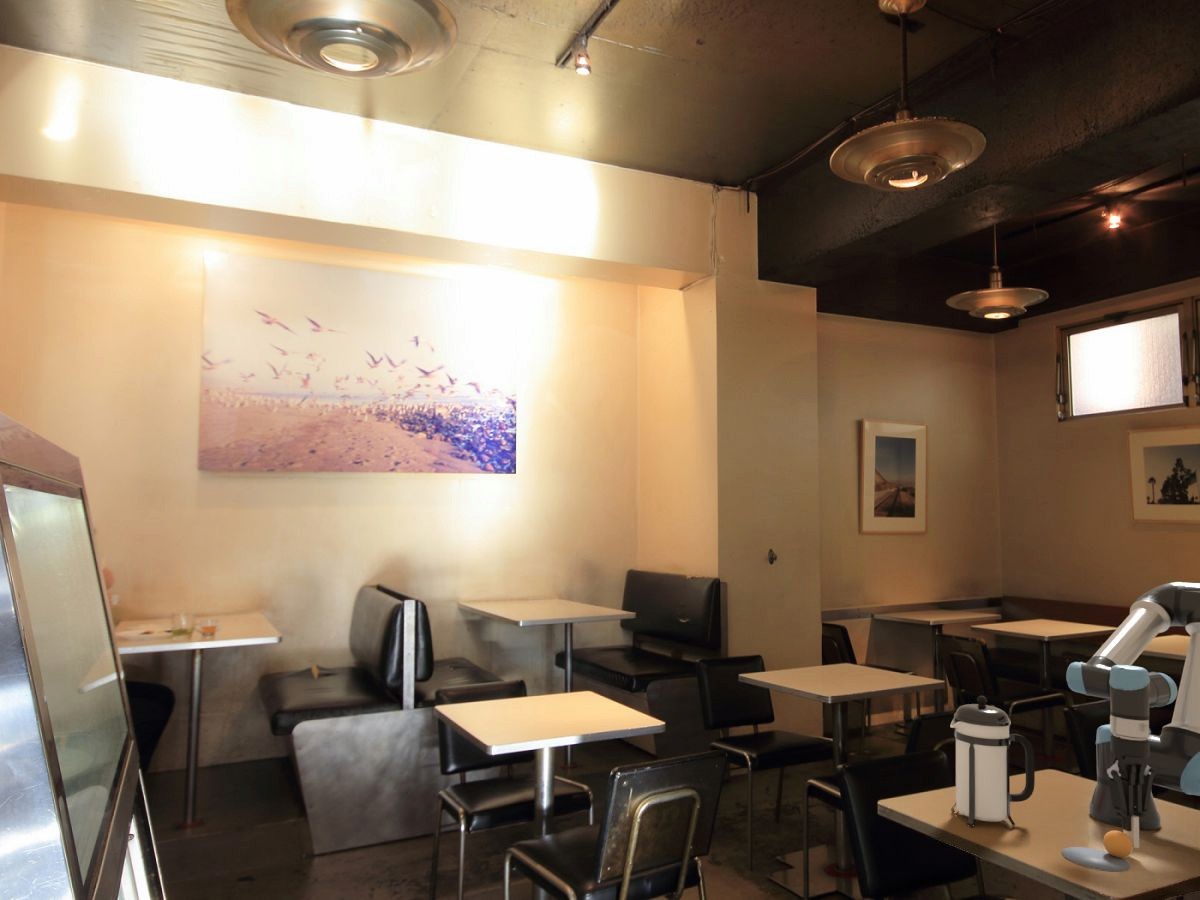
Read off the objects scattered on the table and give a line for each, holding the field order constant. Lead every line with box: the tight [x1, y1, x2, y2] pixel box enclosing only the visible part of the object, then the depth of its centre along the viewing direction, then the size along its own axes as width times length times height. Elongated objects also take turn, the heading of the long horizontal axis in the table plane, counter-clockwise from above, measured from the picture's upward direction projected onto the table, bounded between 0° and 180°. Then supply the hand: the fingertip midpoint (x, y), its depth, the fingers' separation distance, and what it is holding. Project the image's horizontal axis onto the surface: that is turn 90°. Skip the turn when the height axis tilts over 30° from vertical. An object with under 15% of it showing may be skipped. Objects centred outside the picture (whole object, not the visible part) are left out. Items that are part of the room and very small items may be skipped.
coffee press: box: [950, 695, 1036, 830], centre depth 208 cm, size 17×16×30 cm
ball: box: [1102, 830, 1133, 859], centre depth 186 cm, size 6×6×6 cm
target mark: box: [1061, 846, 1132, 872], centre depth 184 cm, size 13×13×1 cm
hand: (1131, 845), depth 187 cm, fingers closed
